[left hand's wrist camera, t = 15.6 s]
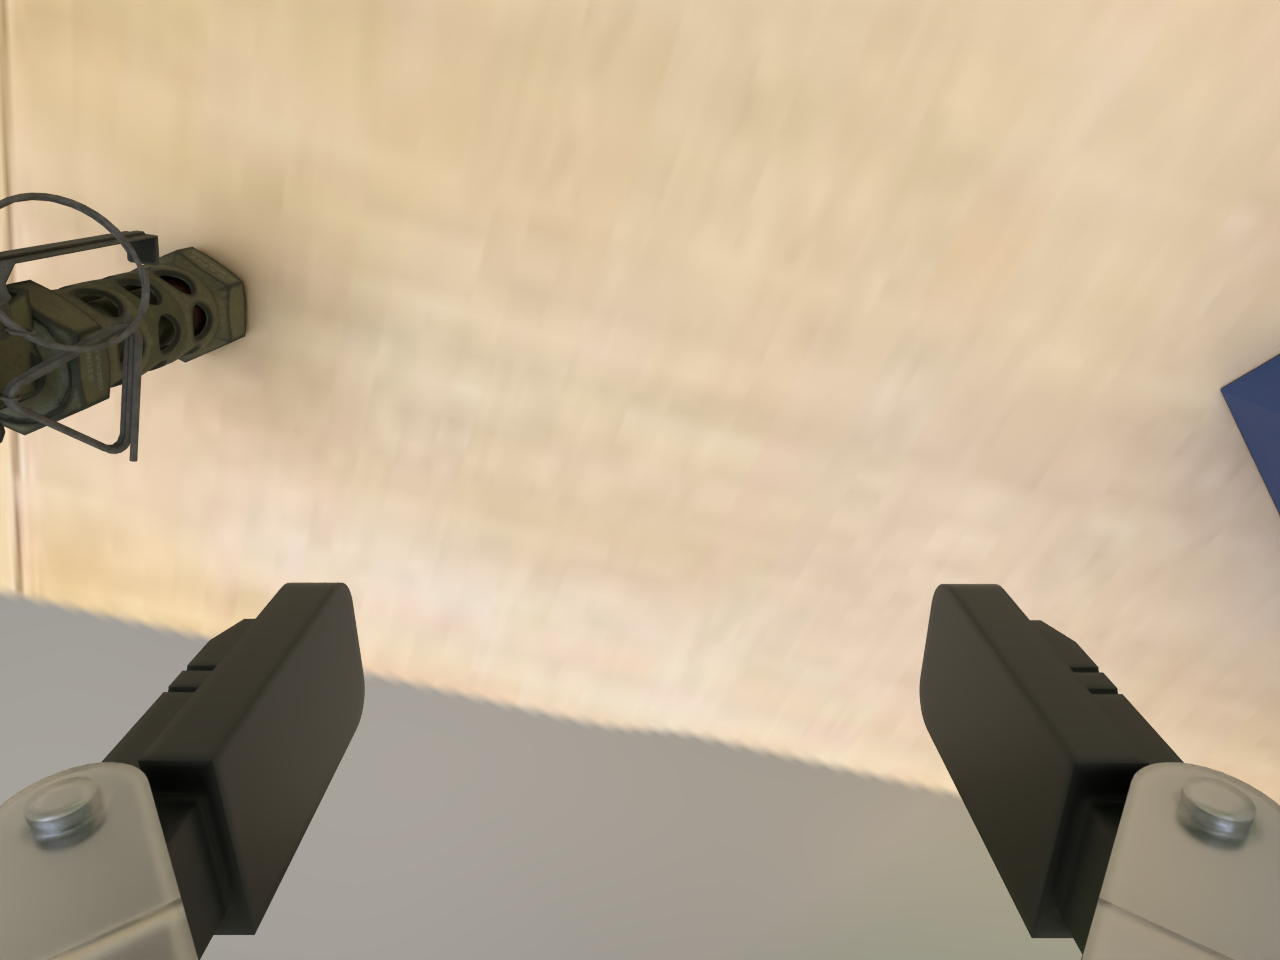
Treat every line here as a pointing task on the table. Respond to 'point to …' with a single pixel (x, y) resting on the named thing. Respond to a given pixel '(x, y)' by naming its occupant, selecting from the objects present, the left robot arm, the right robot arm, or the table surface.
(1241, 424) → the bar
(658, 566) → the table surface
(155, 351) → the grenade
